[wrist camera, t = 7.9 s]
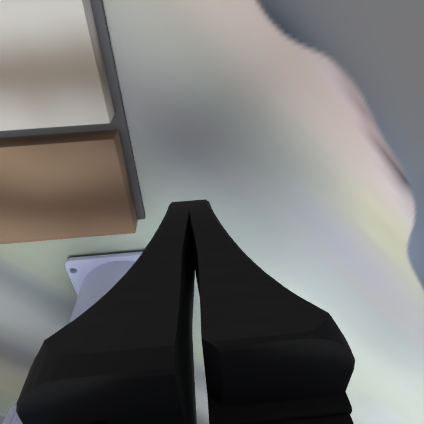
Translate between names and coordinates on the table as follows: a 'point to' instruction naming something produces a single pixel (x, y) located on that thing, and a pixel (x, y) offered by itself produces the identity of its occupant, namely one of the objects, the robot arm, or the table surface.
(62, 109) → the plank
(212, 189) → the table surface
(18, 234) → the laid plank
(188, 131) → the table surface
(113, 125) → the underlay mat
